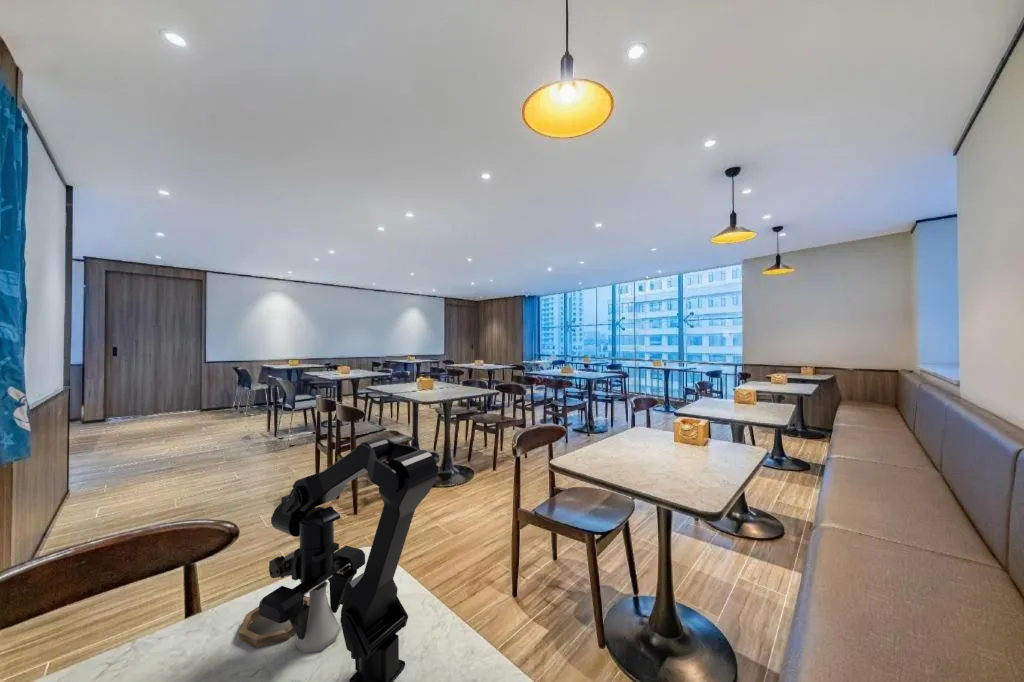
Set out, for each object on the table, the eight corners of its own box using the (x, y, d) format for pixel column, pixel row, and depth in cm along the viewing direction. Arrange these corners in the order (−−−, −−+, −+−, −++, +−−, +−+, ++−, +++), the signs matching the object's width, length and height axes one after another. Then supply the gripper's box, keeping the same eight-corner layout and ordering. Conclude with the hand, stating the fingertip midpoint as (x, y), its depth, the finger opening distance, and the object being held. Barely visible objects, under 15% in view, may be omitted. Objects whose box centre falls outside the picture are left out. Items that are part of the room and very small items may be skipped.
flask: (322, 657, 68) (321, 600, 68) (286, 651, 69) (286, 595, 69) (347, 626, 75) (347, 575, 75) (315, 621, 76) (314, 571, 76)
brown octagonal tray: (325, 610, 80) (325, 602, 80) (269, 654, 69) (269, 645, 69) (285, 595, 84) (285, 588, 84) (226, 634, 73) (226, 627, 73)
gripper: (327, 513, 84) (328, 585, 84) (237, 559, 67) (238, 649, 67) (366, 522, 79) (367, 597, 79) (281, 573, 62) (282, 669, 62)
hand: (318, 624), depth 72 cm, fingers open, 7 cm apart
